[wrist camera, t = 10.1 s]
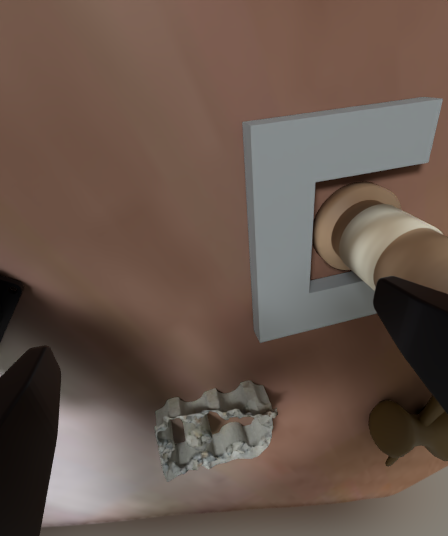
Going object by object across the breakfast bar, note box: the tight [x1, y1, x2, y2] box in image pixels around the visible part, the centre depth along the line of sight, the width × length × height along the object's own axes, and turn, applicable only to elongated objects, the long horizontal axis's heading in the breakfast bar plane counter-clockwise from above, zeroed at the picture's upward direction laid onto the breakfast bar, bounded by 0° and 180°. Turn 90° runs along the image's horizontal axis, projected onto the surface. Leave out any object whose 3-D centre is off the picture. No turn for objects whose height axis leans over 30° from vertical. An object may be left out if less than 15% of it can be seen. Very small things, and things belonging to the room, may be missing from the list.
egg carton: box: [154, 381, 278, 482], centre depth 30 cm, size 11×8×4 cm
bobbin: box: [312, 181, 448, 294], centre depth 19 cm, size 6×6×13 cm
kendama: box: [368, 395, 448, 466], centre depth 37 cm, size 6×10×20 cm
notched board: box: [242, 97, 443, 343], centre depth 24 cm, size 12×16×2 cm
